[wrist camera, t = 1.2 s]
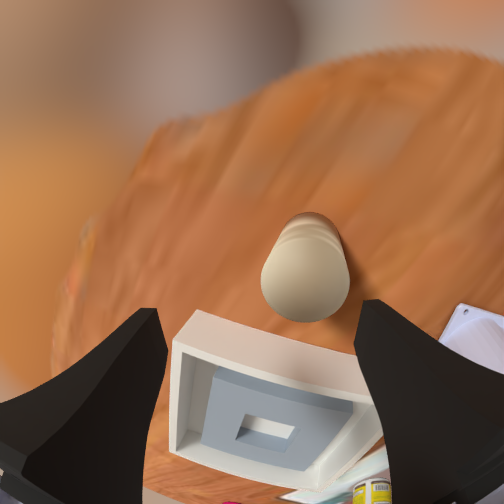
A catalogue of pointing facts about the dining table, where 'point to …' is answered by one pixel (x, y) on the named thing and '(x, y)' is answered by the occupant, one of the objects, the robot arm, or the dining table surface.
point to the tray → (273, 370)
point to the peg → (306, 270)
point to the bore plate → (274, 409)
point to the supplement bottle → (372, 491)
